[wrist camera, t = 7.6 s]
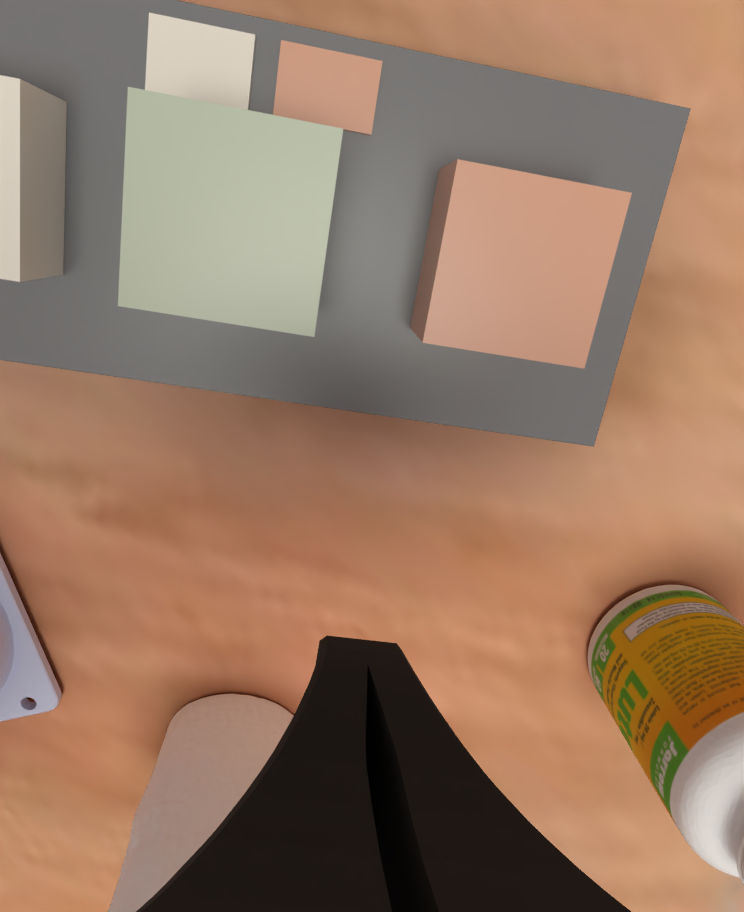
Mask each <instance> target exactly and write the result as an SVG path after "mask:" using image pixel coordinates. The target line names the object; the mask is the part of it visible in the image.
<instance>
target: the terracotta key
mask: <svg viewBox="0 0 744 912" xmlns="http://www.w3.org/2000/svg"><path fill="white" fill-rule="evenodd" d="M631 195H632V193H630V192H625V191H620V190H615V189H610V188H604V187H599V186H594V185H589V184H584V183H579V182H573V181H568V180H563V179H558V178H553V177H547V176H542V175H537V174H532V173H527V172H522V171H516V170H511V169H506V168H501V167H496V166H491V165H485V164H480V163H475V162H470V161H465V160H460V159H457V160H455V161H453V162H452V163H450V164H448V165H446V166H444V167H443V168H441V169H439V173H438V179H437V184H436V190H435V195H434V200H433V206H432V211H431V217H430V222H429V228H428V233H427V239H426V244H425V249H424V255H423V260H422V266H421V271H420V277H419V282H418V287H417V293H416V298H415V304H414V309H413V315H412V320H411V326H410V328H411V330H412V331H413V332H414V333H415V334H416V336H417V337H418V338H419V339H420V340H421V341H422V343H427V344H434V345H440V346H446V347H452V348H459V349H465V350H471V351H477V352H484V353H490V354H496V355H502V356H509V357H515V358H521V359H527V360H534V361H540V362H546V363H552V364H559V365H565V366H571V367H577V368H585V364H586V361H587V357H588V353H589V350H590V346H591V342H592V339H593V335H594V331H595V328H596V324H597V320H598V317H599V313H600V309H601V305H602V302H603V298H604V294H605V291H606V287H607V283H608V280H609V276H610V272H611V269H612V265H613V261H614V258H615V254H616V250H617V246H618V243H619V239H620V235H621V232H622V228H623V224H624V221H625V217H626V213H627V210H628V206H629V202H630V199H631Z"/></svg>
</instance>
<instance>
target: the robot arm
mask: <svg viewBox="0 0 744 912" xmlns="http://www.w3.org/2000/svg"><path fill="white" fill-rule="evenodd" d="M26 697H30V698H32V699H34V700H35V701H36V702H31V701H28V699H27V698H26ZM61 697H62V694H61V690H60V688H59V685H58V683H57V681H56V679H55V676H54V674H53V672H52V669H51V667H50V665H49V663H48V660H47V658H46V656H45V654H44V651H43V649H42V647H41V644H40V642H39V640H38V638H37V635H36V633H35V631H34V628H33V626H32V624H31V622H30V619H29V617H28V615H27V613H26V610H25V608H24V606H23V603H22V601H21V599H20V597H19V594H18V592H17V590H16V587H15V585H14V583H13V581H12V578H11V576H10V574H9V571H8V569H7V567H6V565H5V562H4V560H3V558H2V556H1V553H0V722H1V721H5V720H10V719H15V718H19V717H24V716H29V715H34V714H38V713H43V712H48V711H51V710H53V709H54V708H55V707H56V706H57V705H58V703H59V702H60V700H61ZM136 912H631V911H630V910H628V909H627V908H626V907H625V906H623V905H622V904H621V903H620V902H618V901H617V900H616V899H615V898H613V897H612V896H611V895H610V894H608V893H607V892H606V891H605V890H603V889H602V888H601V887H600V886H599V885H597V884H596V883H595V882H594V881H593V880H592V879H590V878H589V877H588V876H587V875H586V874H585V873H583V872H582V871H581V870H580V869H579V868H578V867H576V866H575V865H574V864H573V863H572V862H571V861H570V860H569V859H568V858H567V857H566V856H565V855H563V854H562V853H561V852H560V851H559V850H558V849H557V848H556V847H555V846H554V845H553V844H552V843H550V842H549V841H548V840H547V839H546V838H545V837H544V836H543V835H542V834H541V833H540V832H539V831H538V830H537V829H536V828H535V827H534V826H533V825H532V824H531V823H530V822H529V821H528V820H527V819H526V818H525V817H524V816H523V815H522V814H521V813H520V812H519V811H518V810H517V808H516V807H515V806H514V805H513V804H512V803H511V802H510V801H509V800H508V799H507V798H506V797H505V796H504V794H503V793H502V792H501V791H500V790H499V789H498V788H497V787H496V786H495V785H494V783H493V782H492V781H491V780H490V779H489V778H488V776H487V775H486V774H485V773H484V772H483V770H482V769H481V768H480V766H479V765H478V764H477V763H476V761H475V760H474V759H473V757H472V756H471V755H470V754H469V752H468V751H467V750H466V748H465V747H464V746H463V744H462V743H461V742H460V740H459V739H458V738H457V736H456V735H455V733H454V732H453V730H452V729H451V728H450V726H449V725H448V723H447V722H446V720H445V719H444V717H443V716H442V714H441V713H440V712H439V710H438V709H437V707H436V706H435V704H434V703H433V701H432V700H431V698H430V696H429V695H428V693H427V692H426V690H425V688H424V687H423V685H422V684H421V682H420V680H419V679H418V677H417V675H416V674H415V672H414V670H413V669H412V667H411V665H410V664H409V662H408V660H407V659H406V657H405V655H404V653H403V652H402V650H401V649H400V647H399V646H398V645H397V643H388V642H379V641H370V640H361V639H352V638H343V637H334V636H326V637H325V638H323V639H322V640H320V642H319V648H318V654H317V660H316V666H315V669H314V672H313V674H312V677H311V680H310V682H309V685H308V687H307V689H306V691H305V693H304V696H303V698H302V700H301V702H300V704H299V706H298V709H297V711H296V713H295V715H294V716H293V718H292V720H291V722H290V724H289V725H288V727H287V729H286V731H285V732H284V734H283V736H282V738H281V739H280V741H279V743H278V745H277V746H276V748H275V750H274V751H273V753H272V754H271V756H270V757H269V759H268V761H267V762H266V764H265V765H264V767H263V768H262V770H261V771H260V773H259V774H258V775H257V777H256V778H255V780H254V781H253V782H252V784H251V785H250V787H249V788H248V789H247V791H246V792H245V794H244V795H243V796H242V797H241V799H240V800H239V801H238V802H237V804H236V805H235V806H234V808H233V809H232V810H231V811H230V813H229V814H228V815H227V816H226V818H225V819H224V820H223V822H222V823H221V824H220V825H219V826H218V828H217V829H216V830H215V831H214V832H213V833H212V835H211V836H210V837H209V838H208V839H207V840H206V841H205V843H204V844H203V845H202V846H201V847H200V848H199V849H198V850H197V851H196V852H195V853H194V854H193V855H192V856H191V857H190V859H189V860H188V861H187V862H186V863H185V864H184V865H183V866H182V867H181V868H180V869H179V870H178V871H177V872H176V873H175V874H174V875H173V877H172V878H171V879H170V880H169V881H168V882H167V883H166V884H165V885H164V886H163V887H162V888H161V889H160V890H159V891H158V892H157V893H156V894H155V895H154V896H153V897H152V898H151V899H149V900H148V901H147V902H146V903H145V904H144V905H143V906H142V907H141V908H140V909H138V910H137V911H136Z"/></svg>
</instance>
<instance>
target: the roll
mask: <svg viewBox="0 0 744 912" xmlns="http://www.w3.org/2000/svg"><path fill="white" fill-rule="evenodd" d="M293 716H294V715H292V714H291V713H290V712H289V711H288V710H286V709H285V708H283V707H281V706H280V705H278V704H276V703H274V702H271V701H269V700H266V699H263V698H258V697H254V696H250V695H240V694H220V695H213V696H209V697H205V698H201V699H198V700H196V701H193V702H191V703H189V704H187V705H186V706H184V707H183V708H182V709H180V710H179V711H178V712H177V713H176V714H175V716H174V717H173V718H172V719H171V721H170V724H169V726H168V729H167V732H166V735H165V738H164V741H163V744H162V746H161V749H160V752H159V755H158V759H157V762H156V765H155V768H154V770H153V773H152V775H151V778H150V780H149V783H148V785H147V787H146V790H145V792H144V795H143V797H142V799H141V801H140V803H139V806H138V808H137V810H136V813H135V815H134V818H133V822H132V828H131V835H130V841H129V844H128V848H127V851H126V856H125V859H124V862H123V866H122V869H121V874H120V877H119V880H118V883H117V886H116V889H115V892H114V895H113V898H112V901H111V904H110V907H109V910H108V912H136V911H137V910H138V909H140V908H141V907H142V906H143V905H144V904H145V903H146V902H147V901H148V900H149V899H151V898H152V897H153V896H154V895H155V894H156V893H157V892H158V891H159V890H160V889H161V888H162V887H163V886H164V885H165V884H166V883H167V882H168V881H169V880H170V879H171V878H172V877H173V875H174V874H175V873H176V872H177V871H178V870H179V869H180V868H181V867H182V866H183V865H184V864H185V863H186V862H187V861H188V860H189V859H190V857H191V856H192V855H193V854H194V853H195V852H196V851H197V850H198V849H199V848H200V847H201V846H202V845H203V844H204V843H205V841H206V840H207V839H208V838H209V837H210V836H211V835H212V833H213V832H214V831H215V830H216V829H217V828H218V826H219V825H220V824H221V823H222V822H223V820H224V819H225V818H226V816H227V815H228V814H229V813H230V811H231V810H232V809H233V808H234V806H235V805H236V804H237V802H238V801H239V800H240V799H241V797H242V796H243V795H244V794H245V792H246V791H247V789H248V788H249V787H250V785H251V784H252V782H253V781H254V780H255V778H256V777H257V775H258V774H259V773H260V771H261V770H262V768H263V767H264V765H265V764H266V762H267V761H268V759H269V757H270V756H271V754H272V753H273V751H274V750H275V748H276V746H277V745H278V743H279V741H280V739H281V738H282V736H283V734H284V732H285V731H286V729H287V727H288V725H289V724H290V722H291V720H292V718H293Z"/></svg>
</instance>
